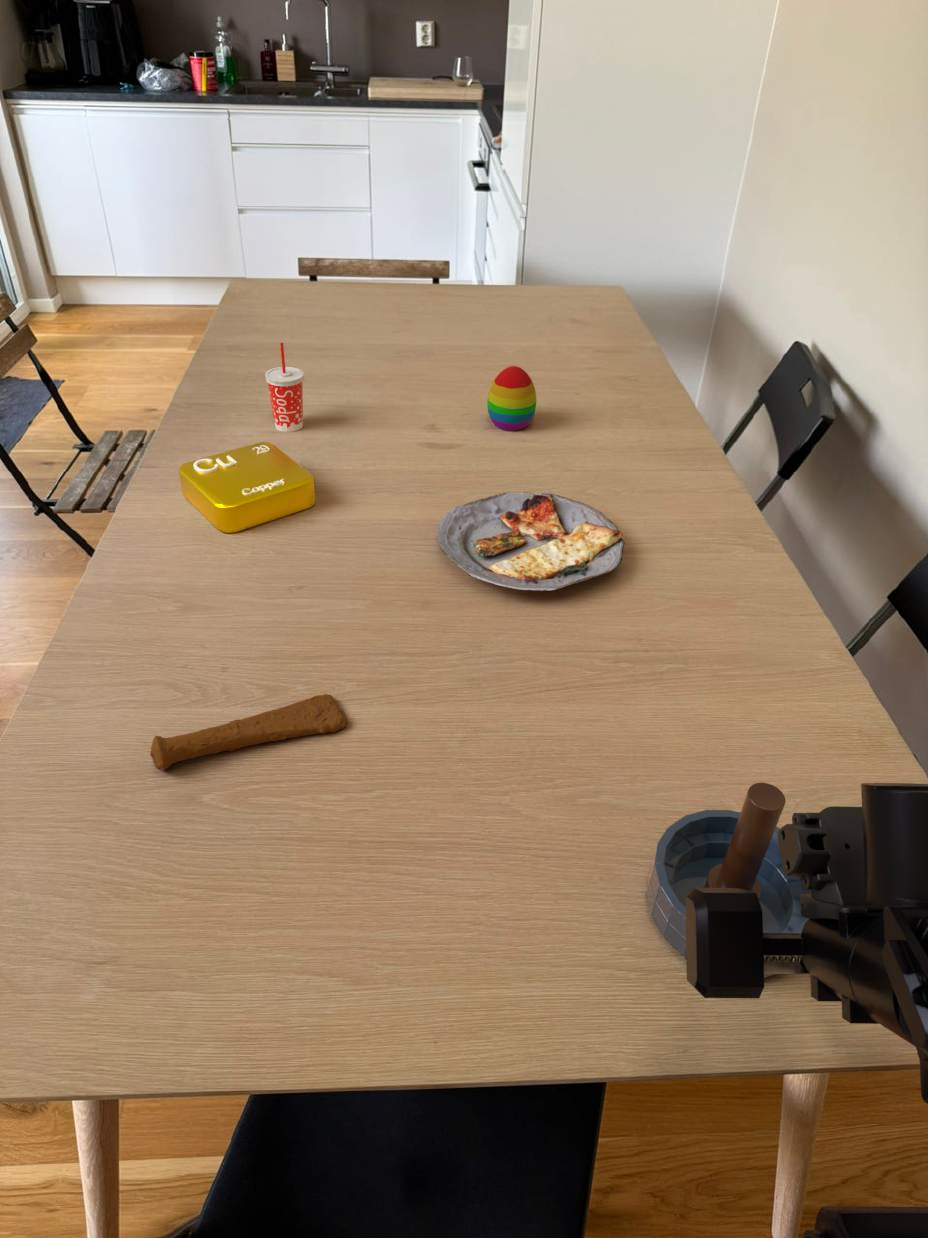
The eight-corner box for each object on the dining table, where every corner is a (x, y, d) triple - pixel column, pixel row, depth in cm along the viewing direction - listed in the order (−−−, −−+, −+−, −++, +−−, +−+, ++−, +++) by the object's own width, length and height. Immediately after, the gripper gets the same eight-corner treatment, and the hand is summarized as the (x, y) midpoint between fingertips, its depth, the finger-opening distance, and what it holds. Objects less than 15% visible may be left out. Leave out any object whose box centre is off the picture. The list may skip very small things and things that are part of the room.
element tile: (224, 537, 120) (219, 506, 117) (177, 491, 129) (172, 461, 126) (321, 505, 128) (318, 475, 125) (270, 464, 137) (267, 435, 134)
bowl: (841, 955, 74) (859, 919, 70) (698, 1005, 70) (712, 969, 67) (747, 830, 84) (760, 794, 81) (618, 867, 80) (626, 831, 77)
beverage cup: (263, 429, 146) (254, 346, 137) (282, 415, 151) (274, 333, 142) (296, 436, 144) (289, 352, 136) (314, 421, 149) (308, 339, 140)
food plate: (552, 489, 134) (554, 469, 131) (657, 566, 118) (662, 543, 116) (407, 533, 122) (407, 511, 120) (503, 623, 107) (505, 600, 105)
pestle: (763, 919, 75) (808, 810, 67) (718, 934, 74) (759, 825, 65) (734, 878, 78) (773, 769, 70) (691, 891, 77) (726, 782, 69)
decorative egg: (515, 409, 156) (519, 354, 150) (544, 427, 150) (549, 370, 144) (477, 419, 152) (479, 363, 146) (504, 438, 147) (508, 380, 141)
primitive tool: (330, 696, 96) (328, 671, 94) (351, 728, 92) (349, 703, 90) (150, 756, 88) (143, 731, 86) (164, 794, 84) (157, 768, 82)
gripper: (1059, 824, 49) (910, 803, 65) (726, 818, 49) (655, 799, 64) (1074, 1036, 48) (917, 963, 63) (730, 1033, 47) (657, 960, 63)
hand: (786, 916), depth 63 cm, fingers open, 9 cm apart
